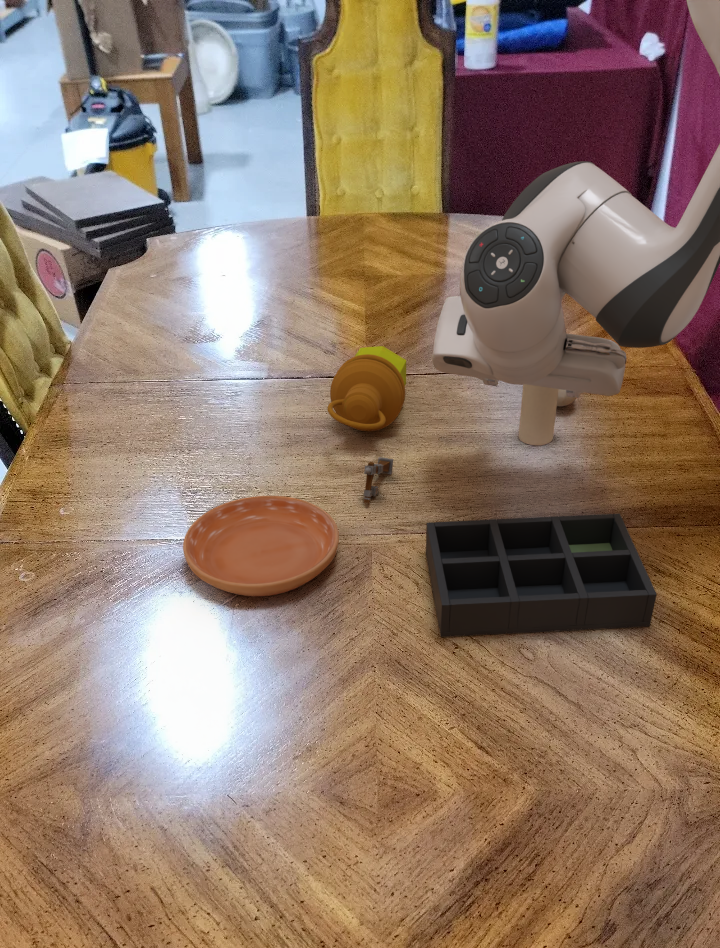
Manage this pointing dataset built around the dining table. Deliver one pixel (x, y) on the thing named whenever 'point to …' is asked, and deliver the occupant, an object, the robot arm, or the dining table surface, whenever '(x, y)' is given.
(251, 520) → the saucer
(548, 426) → the cylinder
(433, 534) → the grid
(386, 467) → the wooden post with brackets
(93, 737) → the dining table surface
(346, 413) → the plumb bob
